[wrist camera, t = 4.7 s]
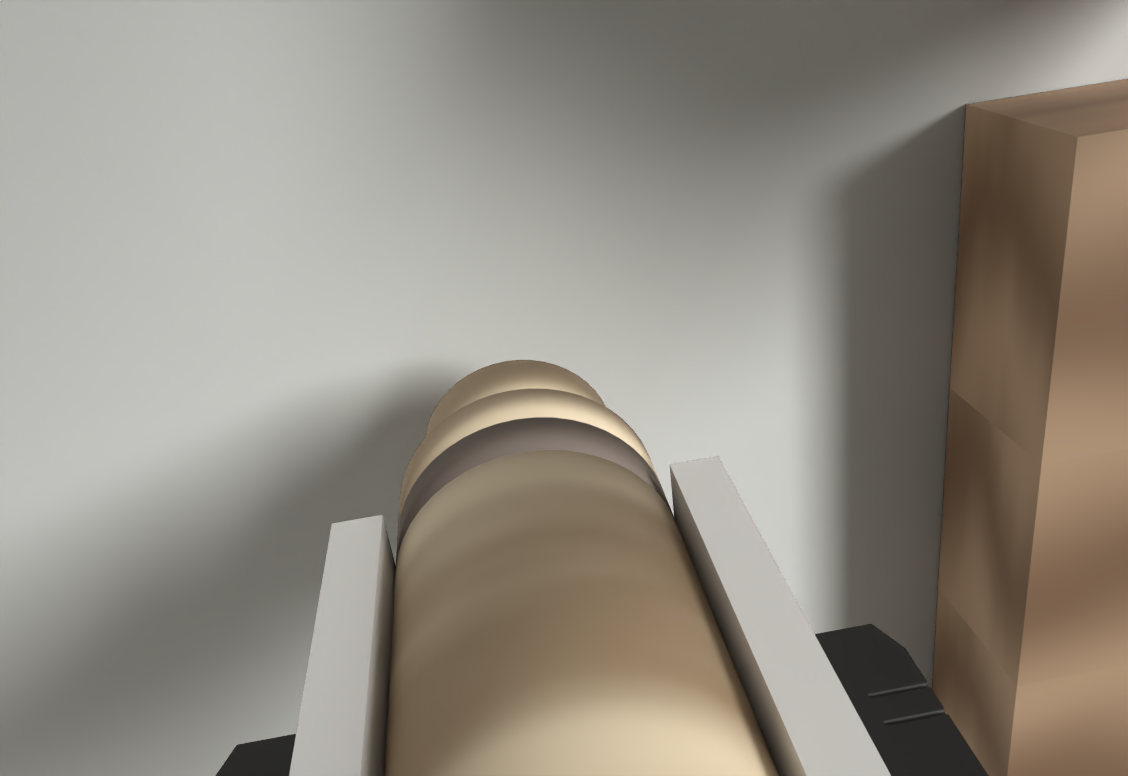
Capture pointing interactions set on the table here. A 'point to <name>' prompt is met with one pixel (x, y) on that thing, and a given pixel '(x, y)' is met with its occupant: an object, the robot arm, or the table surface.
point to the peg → (552, 600)
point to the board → (1039, 439)
